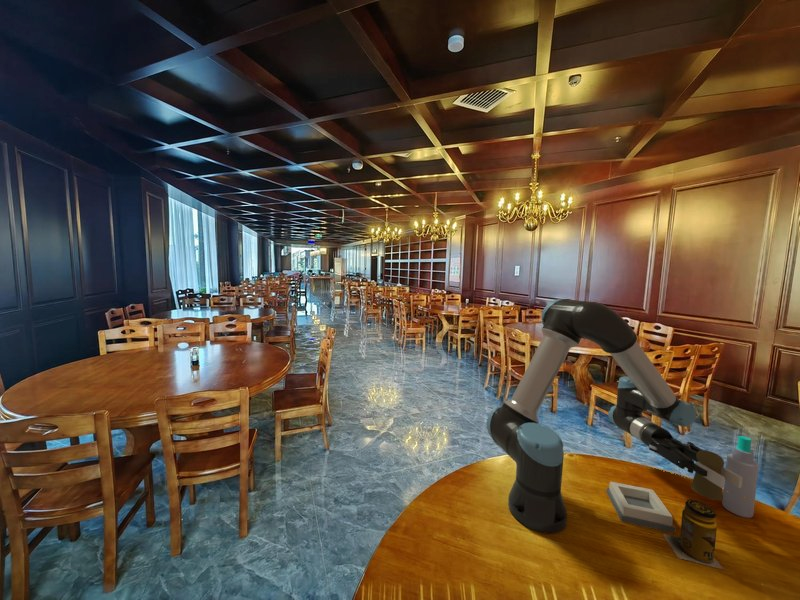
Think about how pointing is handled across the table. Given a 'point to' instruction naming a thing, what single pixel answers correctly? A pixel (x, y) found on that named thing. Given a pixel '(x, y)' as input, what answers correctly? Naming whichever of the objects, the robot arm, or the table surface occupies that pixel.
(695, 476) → the cork
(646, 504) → the collar holder
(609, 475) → the table surface
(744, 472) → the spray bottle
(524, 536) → the table surface
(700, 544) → the condiment
